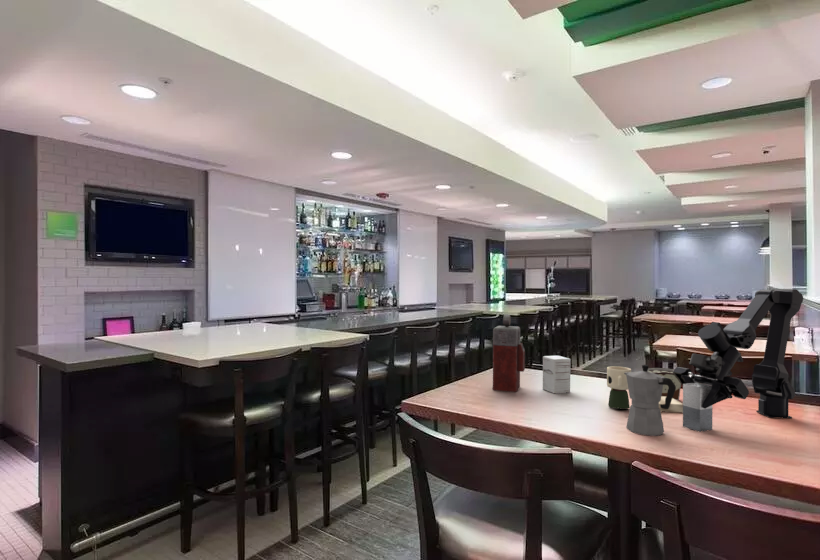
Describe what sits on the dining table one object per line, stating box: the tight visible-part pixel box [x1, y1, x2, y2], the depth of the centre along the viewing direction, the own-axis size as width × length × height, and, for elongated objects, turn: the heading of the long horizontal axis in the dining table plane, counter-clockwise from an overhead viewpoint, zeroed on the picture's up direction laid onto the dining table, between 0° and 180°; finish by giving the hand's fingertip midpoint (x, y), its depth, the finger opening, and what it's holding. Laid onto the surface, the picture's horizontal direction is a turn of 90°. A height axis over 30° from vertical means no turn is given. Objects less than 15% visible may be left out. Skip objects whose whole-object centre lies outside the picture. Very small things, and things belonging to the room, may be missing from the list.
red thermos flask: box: [492, 314, 526, 393], centre depth 173 cm, size 9×11×28 cm
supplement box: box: [542, 355, 572, 394], centre depth 171 cm, size 7×7×13 cm
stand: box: [659, 396, 683, 413], centre depth 149 cm, size 10×10×2 cm
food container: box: [648, 367, 682, 401], centre depth 162 cm, size 12×6×10 cm, turn 84°
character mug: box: [606, 365, 632, 411], centre depth 147 cm, size 11×7×13 cm, turn 159°
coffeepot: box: [624, 364, 676, 437], centre depth 124 cm, size 15×9×18 cm, turn 24°
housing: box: [682, 383, 713, 433], centre depth 128 cm, size 5×5×12 cm
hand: (694, 404), depth 127 cm, fingers closed on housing, 5 cm apart
